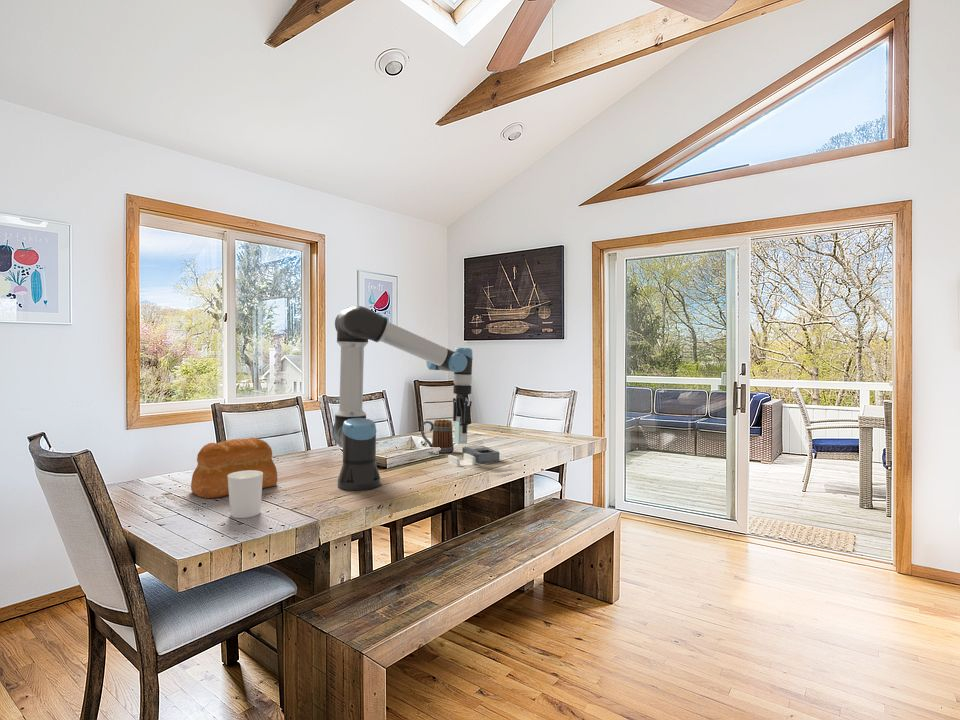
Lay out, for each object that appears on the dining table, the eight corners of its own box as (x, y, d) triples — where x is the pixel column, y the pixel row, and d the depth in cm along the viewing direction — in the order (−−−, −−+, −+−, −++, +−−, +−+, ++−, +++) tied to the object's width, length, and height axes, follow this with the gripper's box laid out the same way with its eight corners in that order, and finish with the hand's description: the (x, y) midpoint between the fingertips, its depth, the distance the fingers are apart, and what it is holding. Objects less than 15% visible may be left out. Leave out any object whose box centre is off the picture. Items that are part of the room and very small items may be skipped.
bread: (186, 492, 185) (186, 441, 184) (260, 478, 205) (260, 432, 204) (206, 501, 175) (205, 448, 174) (282, 485, 194) (282, 438, 194)
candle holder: (268, 508, 168) (268, 470, 167) (255, 519, 158) (255, 478, 157) (235, 508, 167) (235, 470, 167) (221, 519, 157) (221, 478, 157)
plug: (458, 444, 226) (459, 417, 226) (454, 442, 230) (455, 416, 229) (467, 443, 228) (467, 417, 228) (462, 441, 231) (463, 416, 231)
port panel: (478, 466, 229) (478, 453, 228) (462, 458, 243) (462, 446, 243) (499, 463, 233) (499, 451, 233) (482, 456, 247) (482, 444, 247)
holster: (456, 468, 223) (456, 459, 223) (447, 464, 231) (447, 454, 231) (475, 466, 227) (476, 457, 227) (466, 462, 235) (466, 453, 235)
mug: (455, 450, 260) (455, 419, 260) (451, 455, 250) (452, 422, 249) (423, 449, 262) (423, 418, 261) (418, 454, 251) (418, 421, 251)
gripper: (479, 386, 222) (477, 443, 223) (461, 383, 238) (460, 436, 238) (463, 386, 219) (461, 443, 219) (446, 383, 234) (444, 437, 235)
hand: (460, 439), depth 229 cm, fingers closed on plug, 4 cm apart
